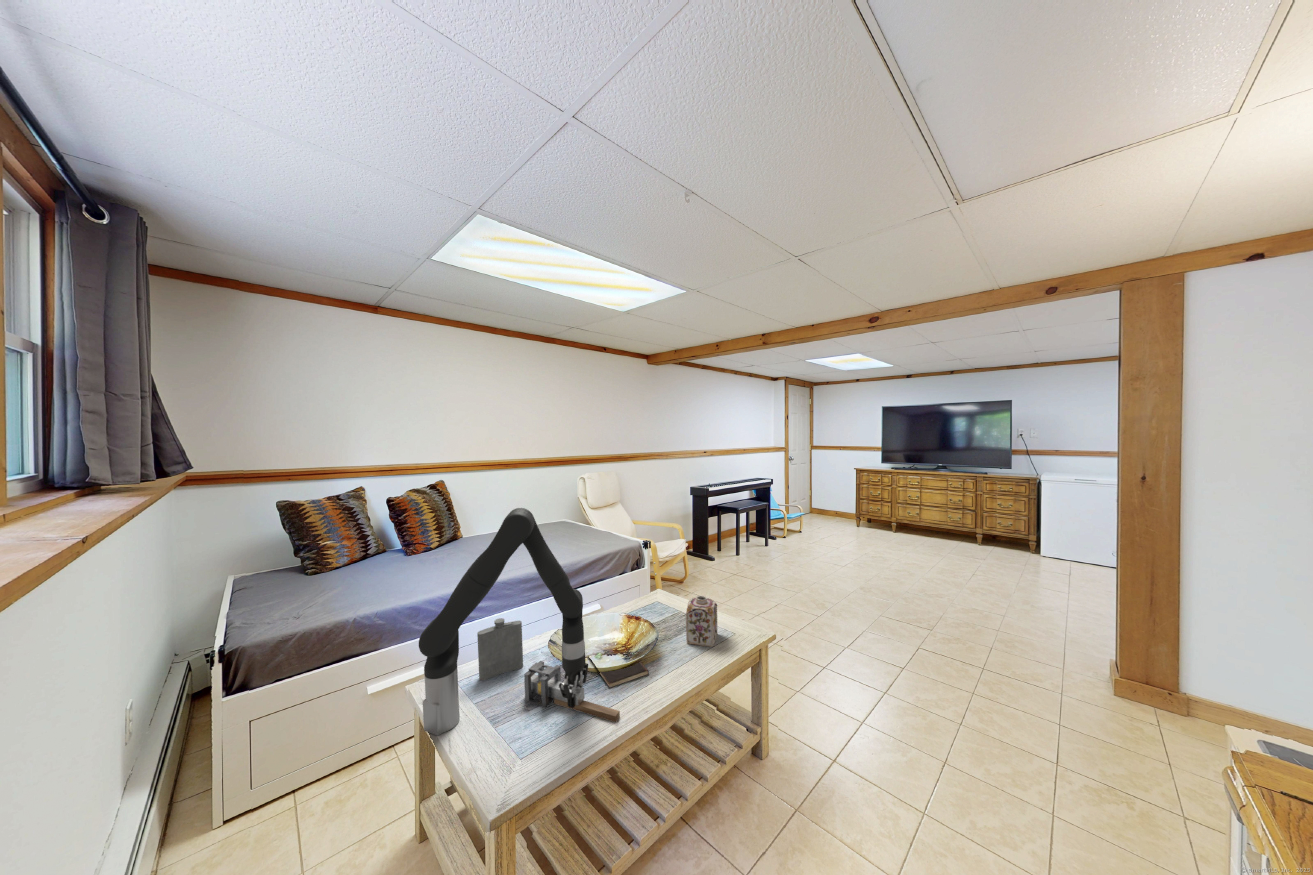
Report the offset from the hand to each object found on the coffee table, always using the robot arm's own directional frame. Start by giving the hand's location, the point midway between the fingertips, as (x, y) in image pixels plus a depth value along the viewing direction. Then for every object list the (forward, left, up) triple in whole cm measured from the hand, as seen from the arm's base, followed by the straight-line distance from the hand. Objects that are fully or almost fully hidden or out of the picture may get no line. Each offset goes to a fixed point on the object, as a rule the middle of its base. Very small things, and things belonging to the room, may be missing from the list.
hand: (575, 702), depth 139 cm
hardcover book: (+26, -1, -2) cm, 26 cm away
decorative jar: (+56, -26, -2) cm, 62 cm away
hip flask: (+6, +38, -2) cm, 38 cm away
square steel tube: (0, +9, +1) cm, 9 cm away
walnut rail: (0, -4, -1) cm, 4 cm away
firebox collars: (0, +13, -1) cm, 13 cm away
